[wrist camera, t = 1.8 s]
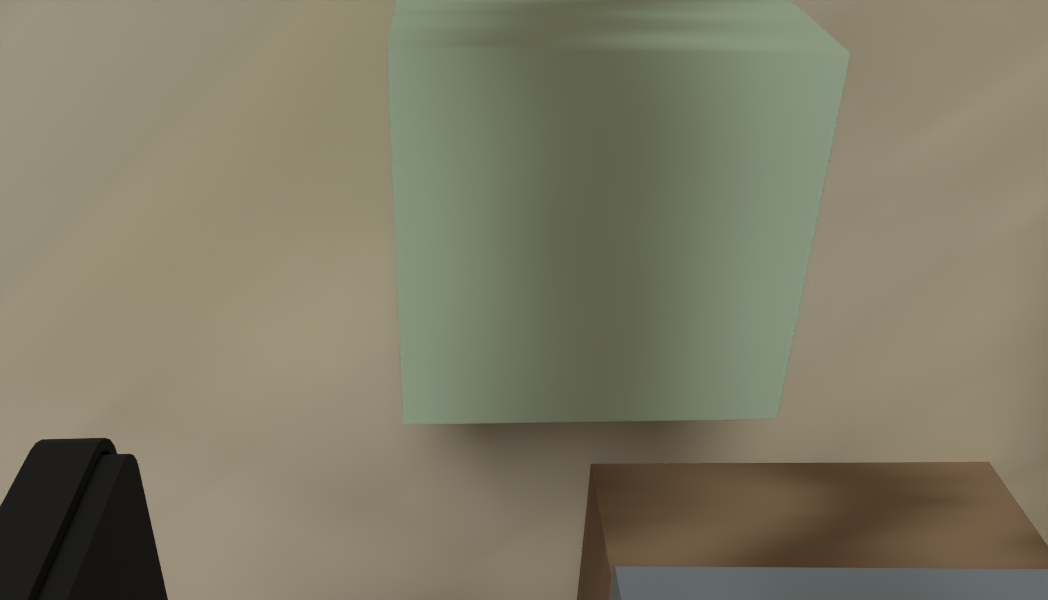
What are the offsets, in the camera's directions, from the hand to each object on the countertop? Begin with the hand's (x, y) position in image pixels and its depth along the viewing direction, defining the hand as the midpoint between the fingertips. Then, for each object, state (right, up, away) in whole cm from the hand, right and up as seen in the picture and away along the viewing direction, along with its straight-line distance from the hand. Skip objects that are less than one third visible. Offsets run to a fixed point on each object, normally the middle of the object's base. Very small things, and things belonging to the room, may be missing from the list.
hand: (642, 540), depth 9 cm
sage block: (0, +6, +10) cm, 12 cm away
